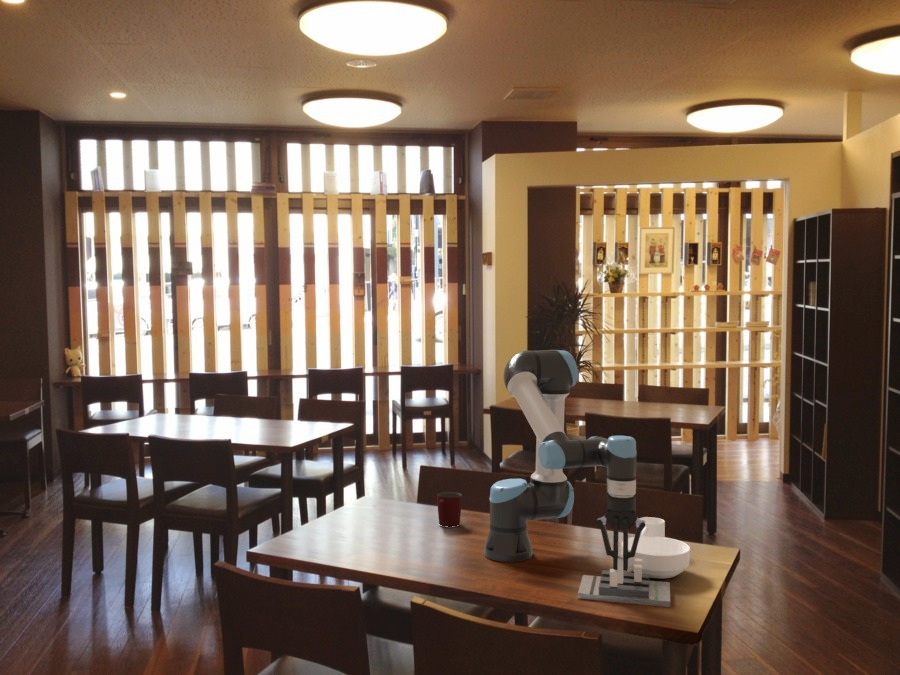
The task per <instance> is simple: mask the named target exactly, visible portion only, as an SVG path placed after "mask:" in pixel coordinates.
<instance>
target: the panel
mask: <svg viewBox="0 0 900 675" xmlns="http://www.w3.org/2000/svg"><path fill="white" fill-rule="evenodd" d="M577 599H578V600H579V599H580V600H588V601H589V600H590V601H600V602H601V601H602V602H609V603H610V602H611V603H621V604H622V603H623V604H630V605H641V606H643V605H644V606H655V607H663V608H671V583H670V582H669V581H657V580H650V578H649V574H642V582H634V572H627V571H624V572H623V584H619V583H618V586H617V587H611V586H610V570H605V569H602V571H601V576H597V575H587V574H583V575H582V577H581V581H580V585H579V588H578V591H577Z"/></svg>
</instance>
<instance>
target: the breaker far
mask: <svg viewBox="0 0 900 675" xmlns="http://www.w3.org/2000/svg"><path fill="white" fill-rule="evenodd" d="M635 564H636V565H642V559H638V558H635Z"/></svg>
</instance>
